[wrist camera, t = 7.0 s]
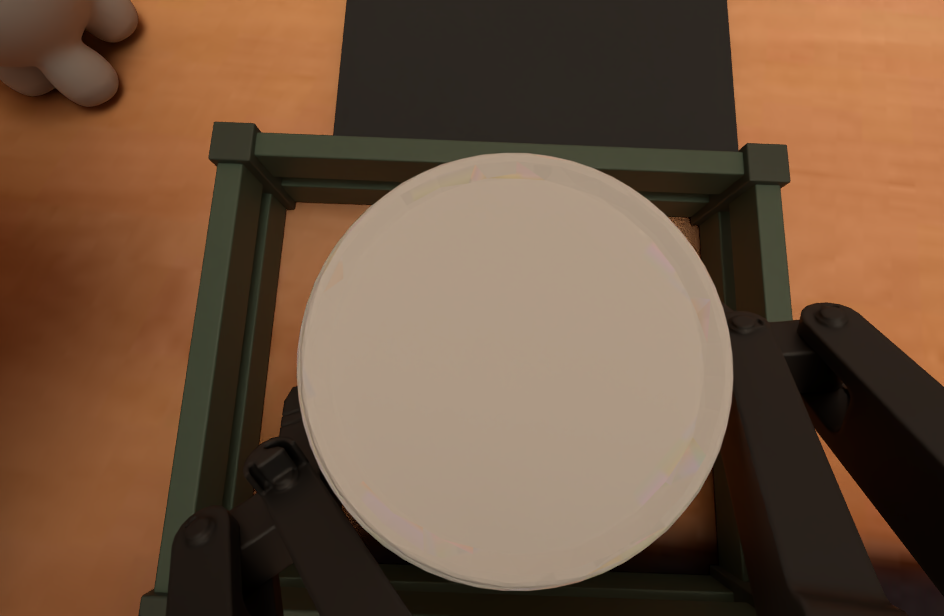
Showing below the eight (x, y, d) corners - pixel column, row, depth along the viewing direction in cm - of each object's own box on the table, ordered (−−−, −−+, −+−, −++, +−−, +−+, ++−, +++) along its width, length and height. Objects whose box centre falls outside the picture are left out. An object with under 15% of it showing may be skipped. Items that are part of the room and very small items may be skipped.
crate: (213, 589, 19) (131, 651, 15) (265, 177, 23) (213, 120, 18) (748, 607, 19) (839, 675, 15) (721, 195, 23) (787, 144, 18)
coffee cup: (583, 497, 20) (748, 640, 8) (370, 469, 20) (236, 573, 8) (598, 289, 22) (754, 164, 10) (401, 264, 22) (328, 114, 10)
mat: (332, 165, 23) (330, 161, 22) (353, -40, 25) (351, -47, 25) (736, 181, 23) (740, 177, 23) (720, -24, 25) (724, -31, 25)
